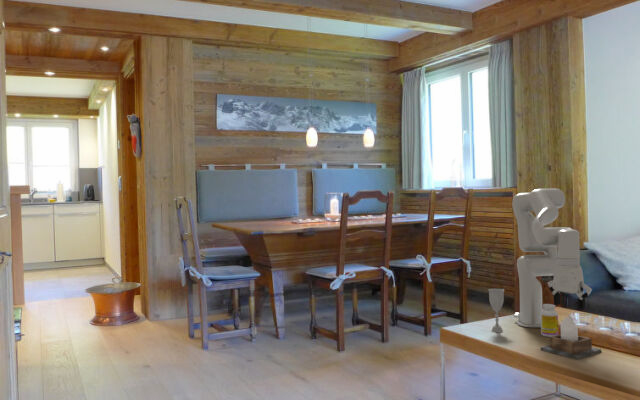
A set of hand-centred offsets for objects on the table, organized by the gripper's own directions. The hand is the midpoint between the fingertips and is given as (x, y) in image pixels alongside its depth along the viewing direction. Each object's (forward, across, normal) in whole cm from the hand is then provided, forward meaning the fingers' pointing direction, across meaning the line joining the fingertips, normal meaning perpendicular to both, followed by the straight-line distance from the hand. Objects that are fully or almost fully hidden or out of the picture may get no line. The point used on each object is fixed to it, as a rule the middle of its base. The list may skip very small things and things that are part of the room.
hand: (569, 307), depth 203 cm
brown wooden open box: (+16, +1, -1) cm, 16 cm away
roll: (+16, 0, 0) cm, 16 cm away
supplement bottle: (+17, -17, +13) cm, 28 cm away
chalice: (+18, -35, +2) cm, 39 cm away
